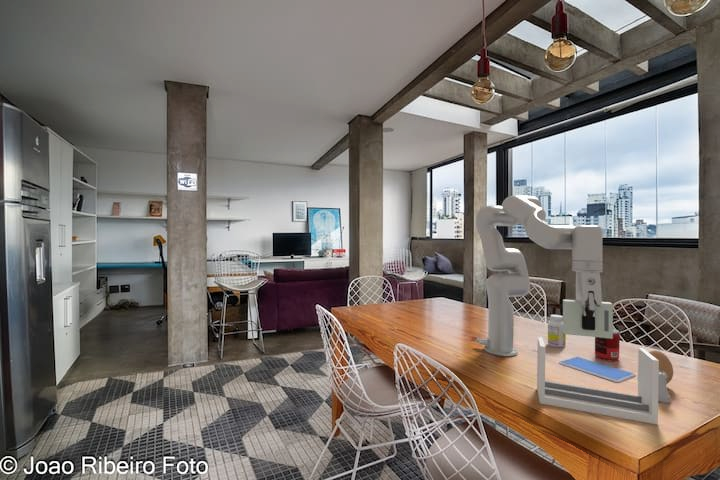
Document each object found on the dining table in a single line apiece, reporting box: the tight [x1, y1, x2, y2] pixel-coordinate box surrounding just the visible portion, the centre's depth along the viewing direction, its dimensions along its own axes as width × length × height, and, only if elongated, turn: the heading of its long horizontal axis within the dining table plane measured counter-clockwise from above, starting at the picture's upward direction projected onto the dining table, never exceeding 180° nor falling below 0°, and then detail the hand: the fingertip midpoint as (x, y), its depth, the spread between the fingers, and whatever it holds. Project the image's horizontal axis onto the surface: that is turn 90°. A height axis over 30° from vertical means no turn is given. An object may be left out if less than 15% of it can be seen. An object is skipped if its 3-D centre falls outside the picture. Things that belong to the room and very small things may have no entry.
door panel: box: [562, 299, 614, 339], centre depth 101 cm, size 12×3×10 cm, turn 67°
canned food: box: [594, 328, 621, 362], centre depth 131 cm, size 8×8×11 cm
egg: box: [648, 350, 674, 385], centre depth 107 cm, size 8×8×11 cm
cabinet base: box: [536, 336, 659, 425], centre depth 93 cm, size 26×10×16 cm, turn 66°
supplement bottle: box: [547, 314, 567, 348], centre depth 146 cm, size 7×7×13 cm
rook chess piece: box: [658, 371, 672, 404], centre depth 97 cm, size 4×4×8 cm
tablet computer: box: [558, 356, 636, 384], centre depth 119 cm, size 19×13×1 cm, turn 29°
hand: (586, 327), depth 101 cm, fingers closed on door panel, 3 cm apart
